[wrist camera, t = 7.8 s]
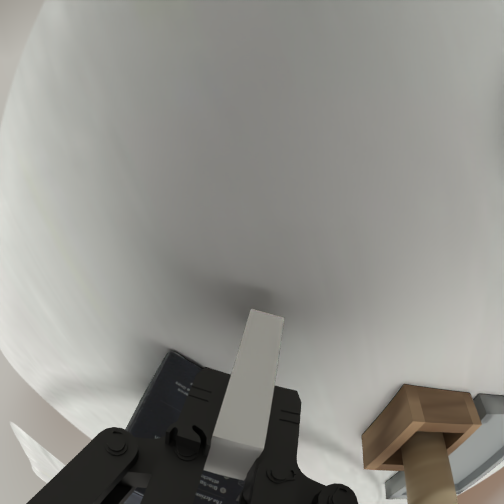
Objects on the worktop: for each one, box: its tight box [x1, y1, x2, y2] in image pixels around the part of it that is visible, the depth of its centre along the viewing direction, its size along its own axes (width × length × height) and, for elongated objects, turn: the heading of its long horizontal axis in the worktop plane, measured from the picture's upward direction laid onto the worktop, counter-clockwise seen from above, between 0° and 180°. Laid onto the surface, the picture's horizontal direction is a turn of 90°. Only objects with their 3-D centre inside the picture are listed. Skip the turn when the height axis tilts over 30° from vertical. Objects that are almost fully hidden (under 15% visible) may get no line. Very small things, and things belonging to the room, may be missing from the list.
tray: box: [385, 394, 504, 499], centre depth 18 cm, size 14×10×2 cm
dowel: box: [401, 431, 458, 504], centre depth 12 cm, size 3×3×14 cm
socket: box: [362, 384, 482, 471], centre depth 17 cm, size 6×6×3 cm
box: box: [123, 351, 246, 504], centre depth 16 cm, size 9×6×10 cm, turn 59°
